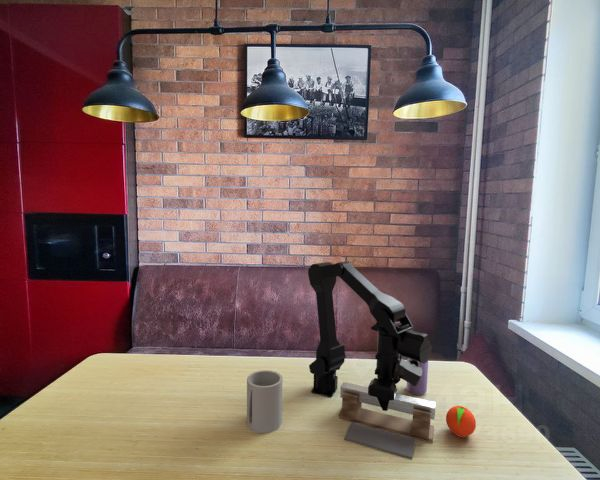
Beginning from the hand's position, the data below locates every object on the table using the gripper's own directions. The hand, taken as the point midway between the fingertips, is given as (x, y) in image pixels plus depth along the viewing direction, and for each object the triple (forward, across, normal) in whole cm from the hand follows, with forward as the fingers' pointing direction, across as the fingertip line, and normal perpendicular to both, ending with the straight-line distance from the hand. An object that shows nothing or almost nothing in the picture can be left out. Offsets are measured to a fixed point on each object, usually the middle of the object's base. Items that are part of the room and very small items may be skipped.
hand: (385, 407), depth 94 cm
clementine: (+5, +3, -18) cm, 19 cm away
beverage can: (+5, +21, -6) cm, 22 cm away
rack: (+4, 0, 0) cm, 4 cm away
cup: (+5, -13, +29) cm, 32 cm away
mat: (+4, -8, 0) cm, 9 cm away
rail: (-1, 0, 0) cm, 1 cm away
